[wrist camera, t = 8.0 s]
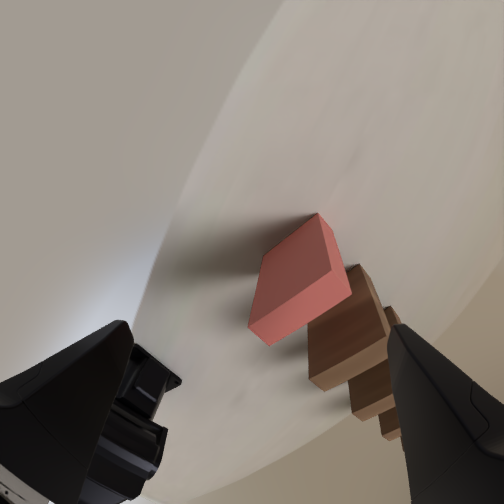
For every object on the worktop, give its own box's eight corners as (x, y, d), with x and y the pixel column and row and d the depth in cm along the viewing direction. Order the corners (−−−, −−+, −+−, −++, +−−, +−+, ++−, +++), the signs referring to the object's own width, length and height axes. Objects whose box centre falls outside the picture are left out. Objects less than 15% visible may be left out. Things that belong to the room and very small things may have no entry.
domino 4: (419, 347, 23) (444, 413, 16) (375, 373, 25) (389, 441, 18) (413, 338, 23) (439, 406, 16) (368, 365, 25) (381, 435, 18)
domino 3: (398, 317, 22) (426, 389, 15) (350, 347, 24) (362, 421, 17) (390, 305, 22) (419, 378, 15) (341, 337, 24) (351, 413, 16)
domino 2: (370, 278, 21) (398, 351, 14) (318, 313, 23) (324, 391, 16) (359, 263, 21) (386, 335, 13) (306, 300, 22) (308, 379, 15)
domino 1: (332, 229, 20) (352, 294, 13) (277, 270, 22) (269, 346, 15) (317, 212, 19) (331, 270, 12) (263, 255, 21) (247, 327, 14)
